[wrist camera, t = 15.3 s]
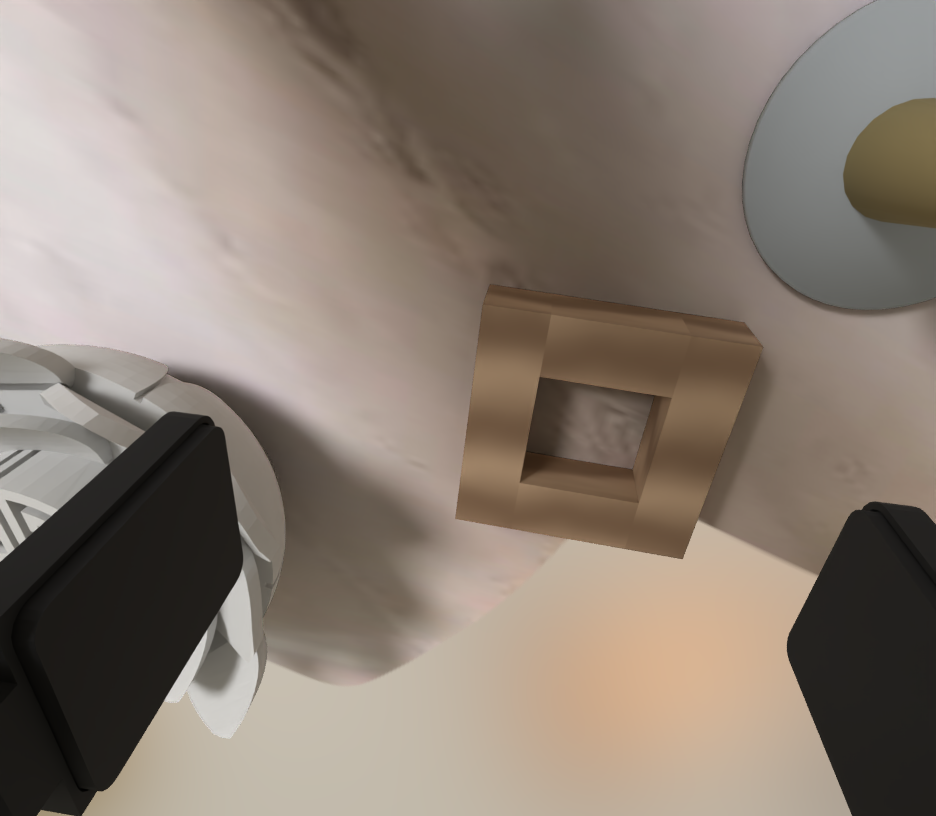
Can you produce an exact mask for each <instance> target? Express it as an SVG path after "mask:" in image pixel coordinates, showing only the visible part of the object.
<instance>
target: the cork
mask: <svg viewBox="0 0 936 816" xmlns="http://www.w3.org/2000/svg"><path fill="white" fill-rule="evenodd" d="M843 181H844V190H845V194H846V196H847V197H848V199H849V201H850V203H851V205H852V207H854V208H855V209H856V210H857V211H859V212H860V213H861V214H862V215H864V216H865V217H868V218H871V219H874V220H877V221H881V222H888V223H896V224H904V225H912V226H920V227H928V228H936V98H923V99H912V100H909V101H907V102H904V103H901V104H898V105H895V106H892V107H891V108H889V109H888V110H886V111H885V112H883V113H882V114H881V115H879V116H878V117H876V118H875V119H873V120H872V121H871V122H870V123H869V124H868V126H867V127H866V128H865V129H864V130H863V131H862V132H861V133H860V134H859V135H858V136H857V138H856V140H855V142H854V144H853V146H852V147H851V149H850V151H849V153H848V155H847V158H846V163H845V167H844V172H843Z"/></svg>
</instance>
